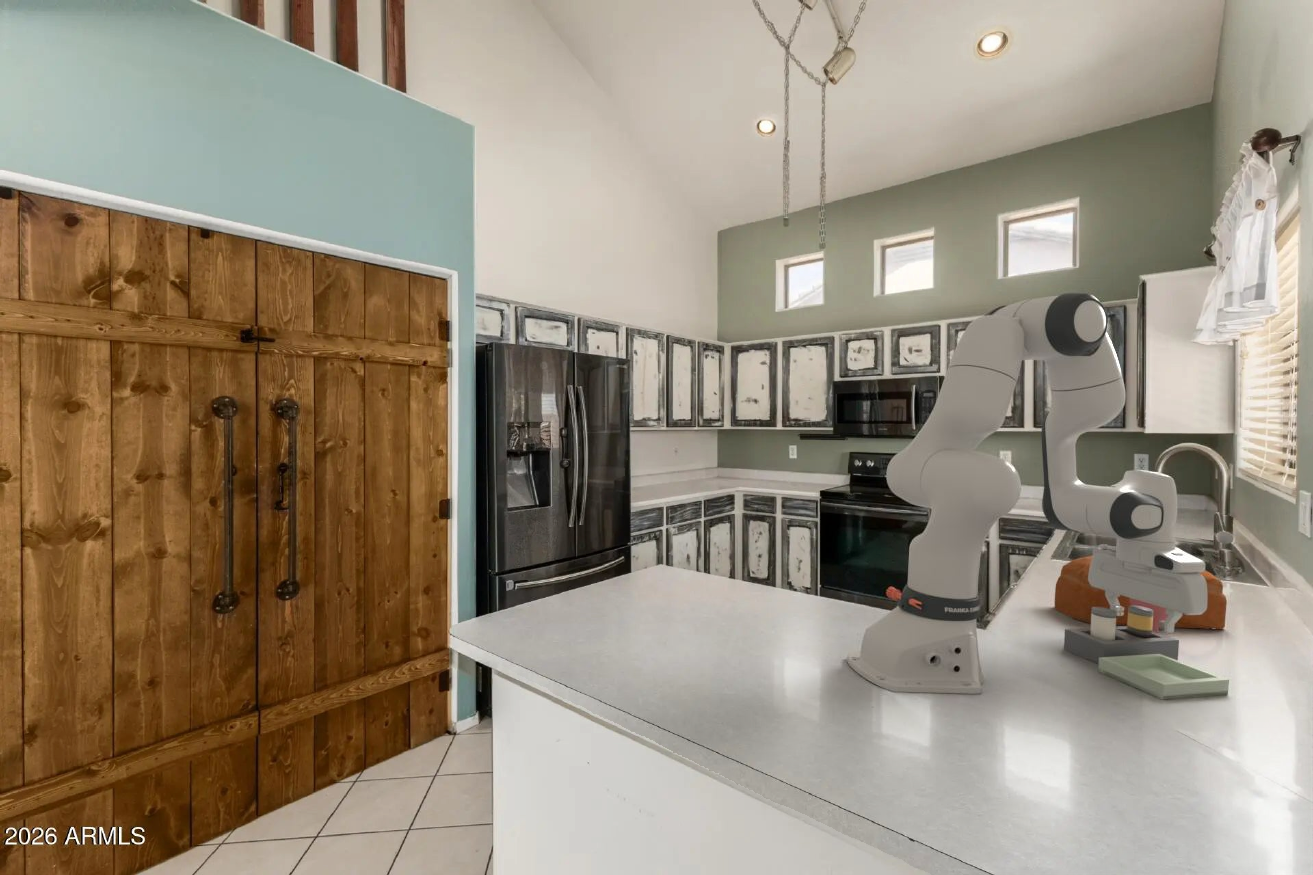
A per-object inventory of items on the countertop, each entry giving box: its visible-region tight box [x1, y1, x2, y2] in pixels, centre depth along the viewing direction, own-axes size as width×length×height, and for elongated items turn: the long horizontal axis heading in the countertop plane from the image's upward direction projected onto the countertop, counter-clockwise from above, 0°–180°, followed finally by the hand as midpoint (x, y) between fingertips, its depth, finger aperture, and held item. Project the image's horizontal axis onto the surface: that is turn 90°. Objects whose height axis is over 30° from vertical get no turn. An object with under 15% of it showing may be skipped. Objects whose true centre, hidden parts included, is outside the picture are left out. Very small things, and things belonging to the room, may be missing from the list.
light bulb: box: [1129, 598, 1169, 633], centre depth 123 cm, size 7×7×12 cm
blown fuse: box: [1126, 605, 1153, 639], centre depth 115 cm, size 4×4×9 cm
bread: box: [1053, 555, 1227, 630], centre depth 138 cm, size 14×33×16 cm, turn 89°
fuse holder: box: [1063, 625, 1180, 665], centre depth 114 cm, size 18×8×4 cm, turn 103°
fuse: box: [1090, 607, 1117, 641], centre depth 113 cm, size 4×4×9 cm
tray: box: [1097, 654, 1230, 701], centre depth 102 cm, size 14×11×2 cm
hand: (1140, 622), depth 115 cm, fingers open, 8 cm apart
